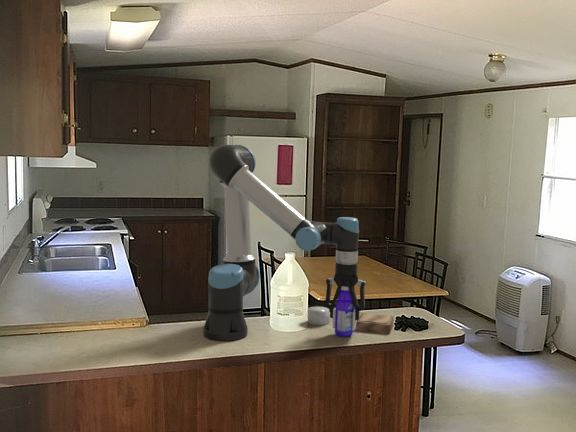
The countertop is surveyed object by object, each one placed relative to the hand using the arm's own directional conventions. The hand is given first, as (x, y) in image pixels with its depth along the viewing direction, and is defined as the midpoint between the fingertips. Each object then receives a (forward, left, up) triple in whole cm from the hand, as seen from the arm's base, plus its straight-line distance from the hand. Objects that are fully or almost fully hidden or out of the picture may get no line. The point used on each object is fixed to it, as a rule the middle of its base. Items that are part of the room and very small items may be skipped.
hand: (344, 328), depth 208 cm
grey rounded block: (-12, +12, -3) cm, 17 cm away
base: (+9, +13, -2) cm, 16 cm away
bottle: (0, 0, -3) cm, 3 cm away
